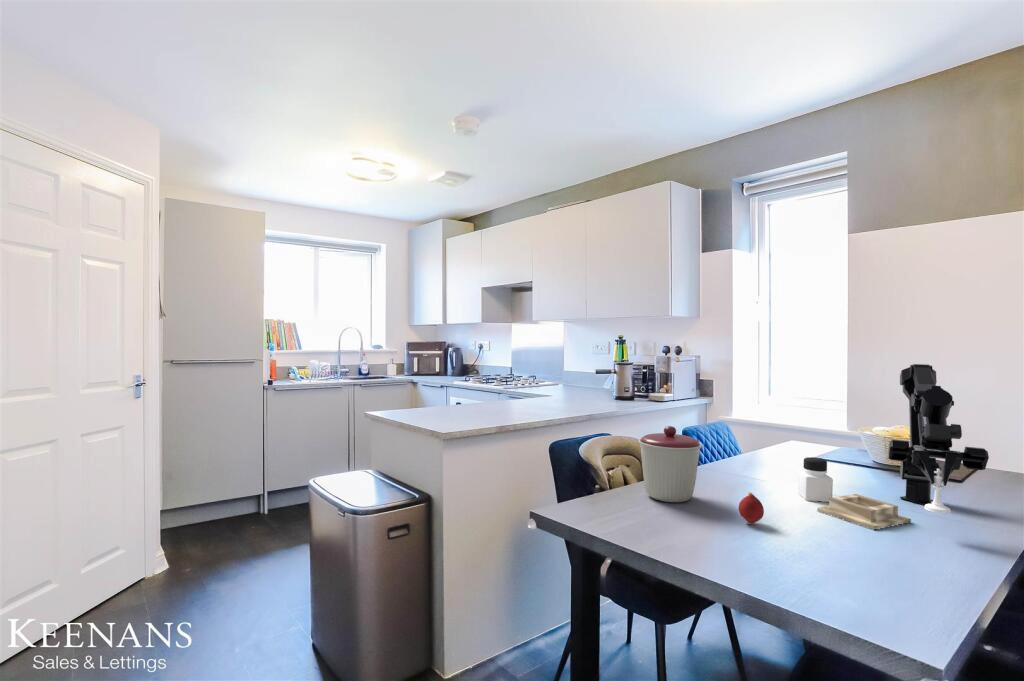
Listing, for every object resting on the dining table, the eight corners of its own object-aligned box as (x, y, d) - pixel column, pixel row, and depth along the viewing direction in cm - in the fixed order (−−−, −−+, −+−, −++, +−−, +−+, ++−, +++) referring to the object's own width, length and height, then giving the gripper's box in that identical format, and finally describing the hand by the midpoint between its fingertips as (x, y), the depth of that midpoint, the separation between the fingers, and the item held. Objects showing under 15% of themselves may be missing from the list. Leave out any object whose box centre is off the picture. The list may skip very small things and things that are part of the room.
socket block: (853, 505, 148) (853, 491, 148) (910, 522, 134) (911, 507, 134) (817, 511, 142) (817, 496, 142) (874, 530, 128) (874, 514, 128)
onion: (761, 521, 133) (762, 490, 133) (765, 529, 127) (765, 497, 127) (737, 518, 135) (737, 488, 135) (739, 526, 129) (740, 494, 129)
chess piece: (919, 506, 126) (919, 466, 126) (938, 506, 126) (938, 465, 126) (936, 513, 121) (937, 471, 121) (956, 513, 121) (957, 471, 121)
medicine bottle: (832, 502, 150) (833, 461, 149) (805, 501, 151) (806, 460, 151) (823, 495, 156) (823, 456, 156) (797, 493, 158) (798, 454, 158)
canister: (680, 512, 139) (681, 434, 139) (624, 495, 153) (626, 425, 153) (713, 499, 151) (714, 427, 151) (659, 485, 165) (660, 419, 165)
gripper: (890, 407, 132) (892, 459, 123) (987, 414, 122) (998, 471, 113) (887, 433, 138) (889, 484, 129) (979, 442, 128) (989, 498, 119)
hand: (938, 484), depth 122 cm, fingers closed on chess piece
